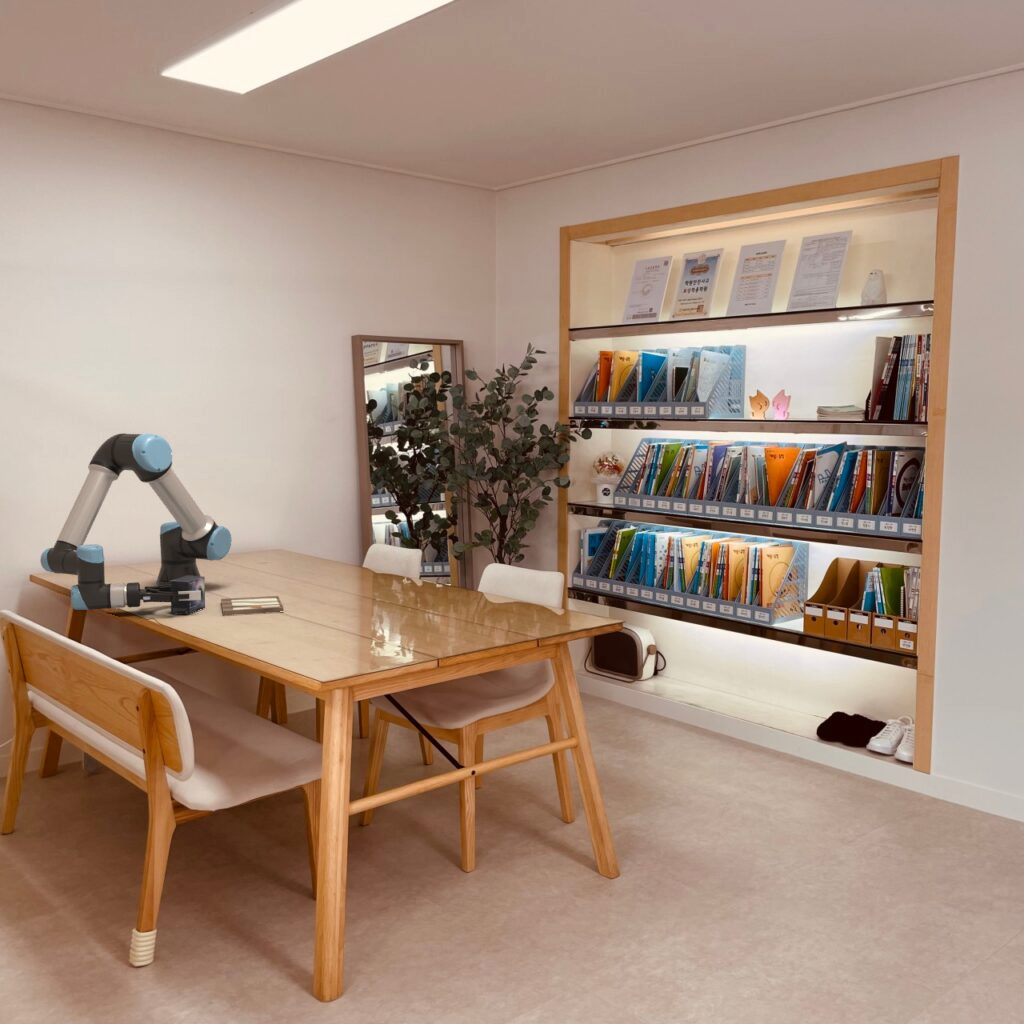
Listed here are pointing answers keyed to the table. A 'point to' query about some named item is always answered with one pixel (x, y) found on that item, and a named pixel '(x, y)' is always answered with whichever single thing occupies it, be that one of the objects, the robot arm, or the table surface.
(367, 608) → the table surface
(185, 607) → the small box
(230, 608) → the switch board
